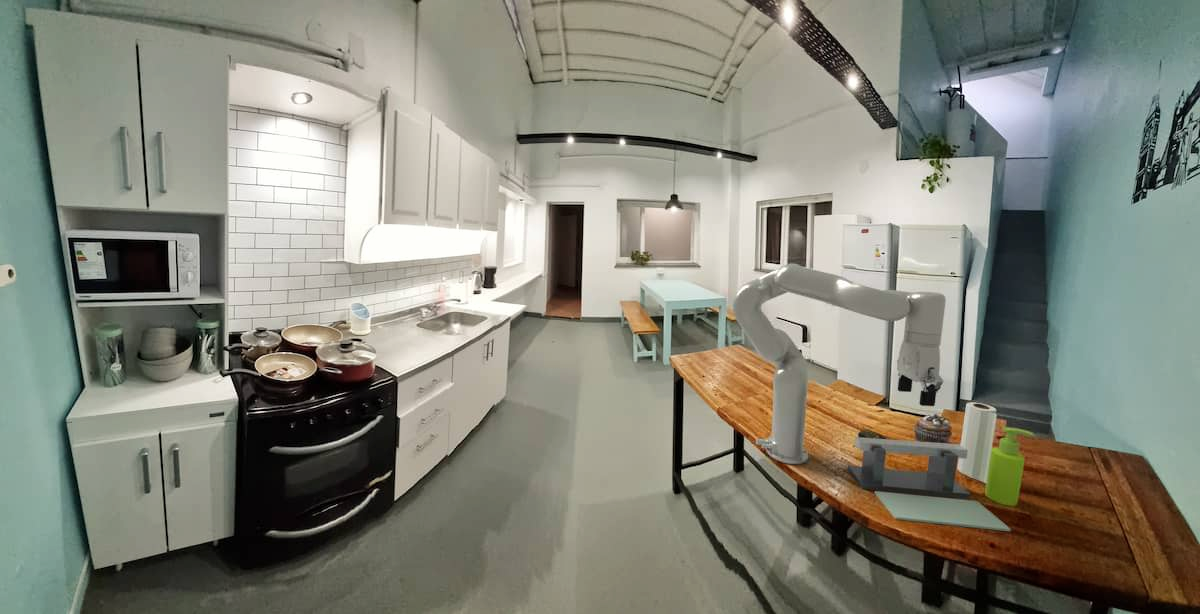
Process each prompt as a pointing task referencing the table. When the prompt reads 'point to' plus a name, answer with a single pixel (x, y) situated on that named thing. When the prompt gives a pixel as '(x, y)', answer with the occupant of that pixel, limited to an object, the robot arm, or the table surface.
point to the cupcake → (933, 429)
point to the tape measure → (869, 434)
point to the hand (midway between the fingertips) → (915, 398)
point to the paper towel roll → (977, 440)
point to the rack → (909, 476)
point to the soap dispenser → (1006, 469)
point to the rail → (910, 447)
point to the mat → (940, 511)
